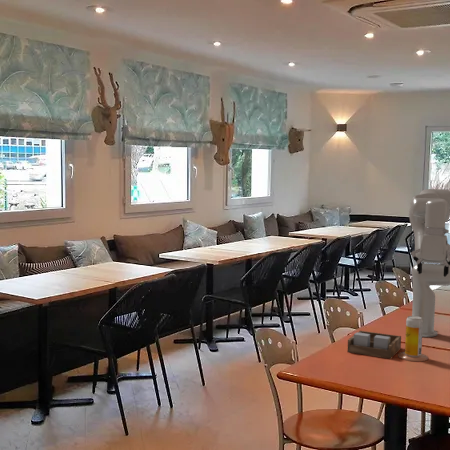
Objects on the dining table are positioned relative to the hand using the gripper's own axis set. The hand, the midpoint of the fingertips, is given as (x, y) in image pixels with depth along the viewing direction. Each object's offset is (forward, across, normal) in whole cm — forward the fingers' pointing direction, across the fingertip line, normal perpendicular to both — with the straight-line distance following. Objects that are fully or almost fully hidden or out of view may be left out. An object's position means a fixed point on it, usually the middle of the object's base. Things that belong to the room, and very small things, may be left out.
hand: (432, 274), depth 246 cm
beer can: (+30, +3, +12) cm, 33 cm away
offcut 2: (+31, +15, +15) cm, 37 cm away
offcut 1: (+31, +23, +15) cm, 41 cm away
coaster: (+31, +3, +12) cm, 33 cm away
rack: (+31, +19, +11) cm, 38 cm away
